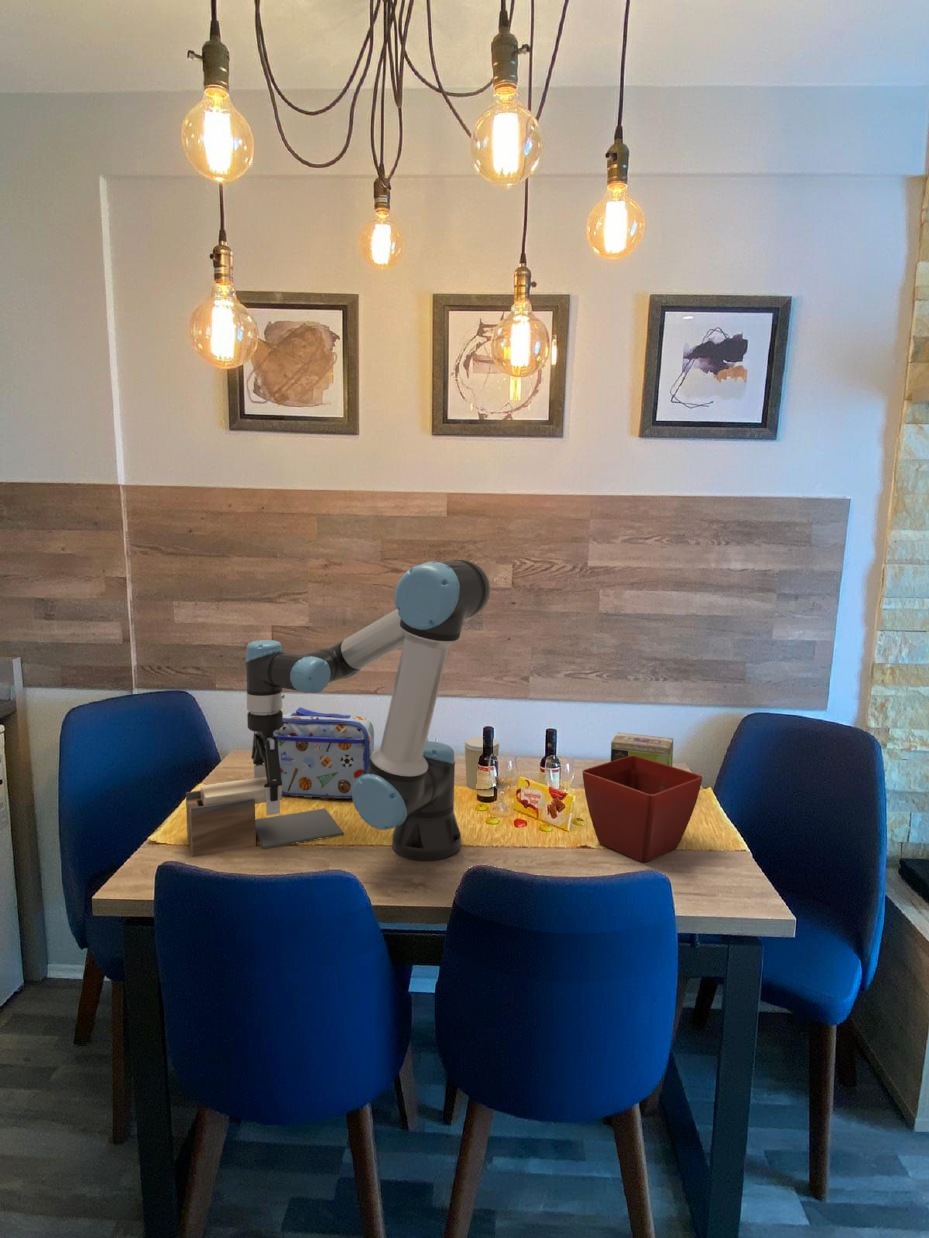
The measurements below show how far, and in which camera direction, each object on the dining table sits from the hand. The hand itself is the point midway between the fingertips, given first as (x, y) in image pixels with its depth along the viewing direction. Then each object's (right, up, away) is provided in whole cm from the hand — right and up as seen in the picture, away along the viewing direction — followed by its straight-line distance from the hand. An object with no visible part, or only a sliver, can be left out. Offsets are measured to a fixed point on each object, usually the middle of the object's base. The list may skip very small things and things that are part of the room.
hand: (266, 802), depth 169 cm
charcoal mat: (+6, -7, +4) cm, 10 cm away
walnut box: (-9, -8, -3) cm, 12 cm away
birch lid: (-5, +1, -3) cm, 6 cm away
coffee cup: (+49, -4, +34) cm, 60 cm away
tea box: (+91, -5, +30) cm, 96 cm away
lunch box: (+7, -4, +26) cm, 27 cm away
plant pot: (+83, -9, -1) cm, 84 cm away
